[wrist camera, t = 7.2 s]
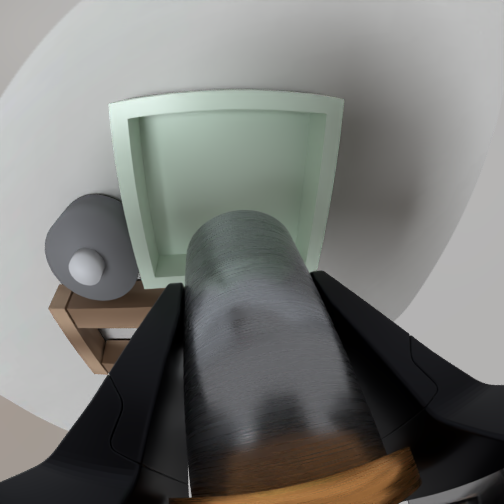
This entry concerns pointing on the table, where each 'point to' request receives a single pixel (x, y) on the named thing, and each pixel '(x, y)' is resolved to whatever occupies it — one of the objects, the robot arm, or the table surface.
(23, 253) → the table surface
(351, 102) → the table surface
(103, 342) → the brown u-shaped piece
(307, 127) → the tray
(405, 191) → the table surface
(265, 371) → the pin
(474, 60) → the table surface
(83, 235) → the pulley
